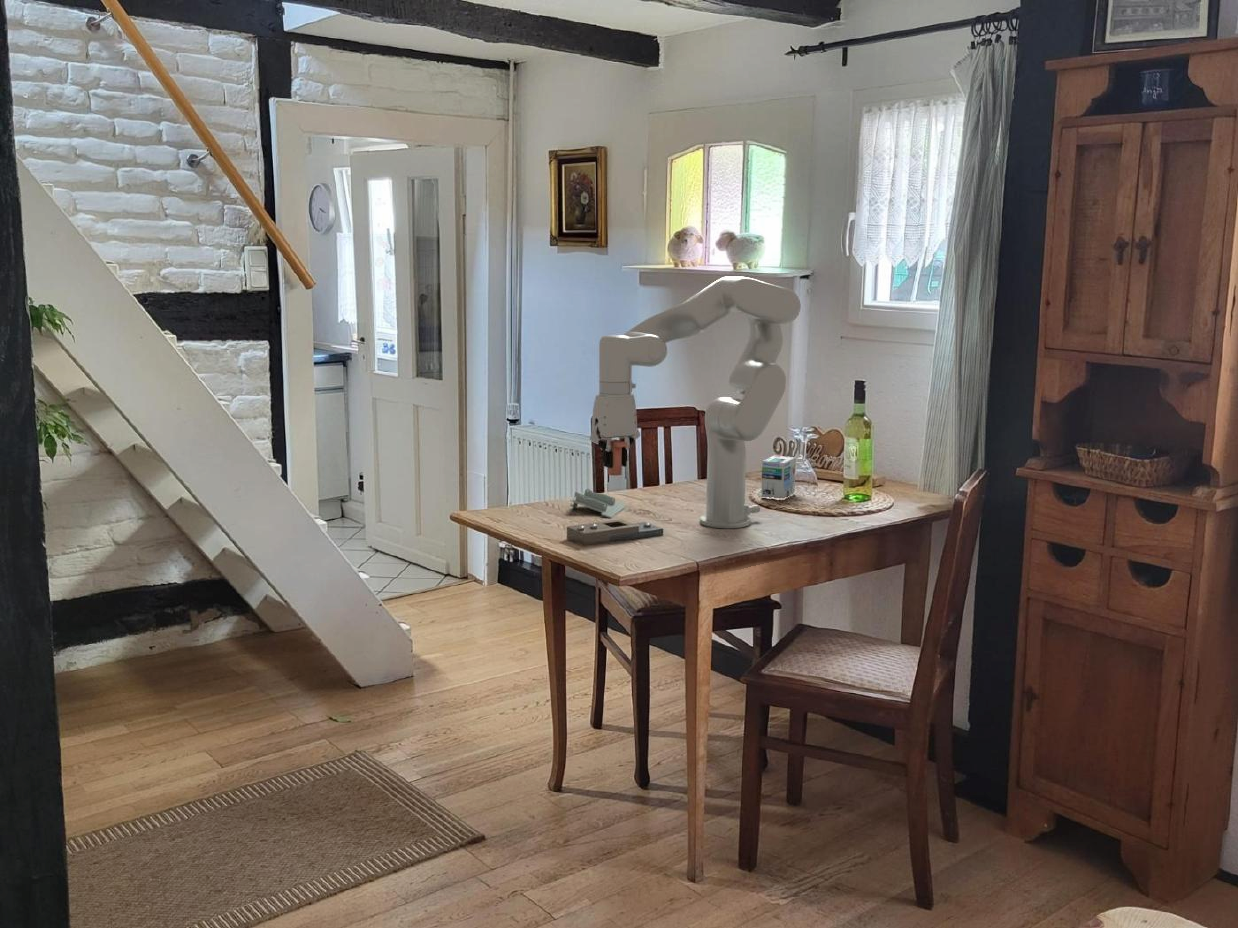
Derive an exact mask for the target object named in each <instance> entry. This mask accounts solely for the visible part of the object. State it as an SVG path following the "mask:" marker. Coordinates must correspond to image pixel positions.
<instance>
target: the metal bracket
mask: <svg viewBox="0 0 1238 928" xmlns="http://www.w3.org/2000/svg"><path fill="white" fill-rule="evenodd" d="M570 502H572V503H570V507H571V508H572V509H571V511H573V510H575V509H576V508H578V506H579V505H580V506H583V507H585V508H588V509H591V510H593V511H597V512H598V513H600V514H601V516H602V517H606V518H608V519H614V518H615V517H616V516H617V515H618V514H619V513H621V512H622V511H623V510H626V509H627V508H629V506H628V504H626V503H623V502H621V501H616V498H615V497H613V496H610V495H607V494H604V493H599V492H593V490H592V489H590V488H586V489H585V490H584V491H582V492H581V493H580V492H578V491H575V492H574V497H573V498H571V499H570Z"/></svg>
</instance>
